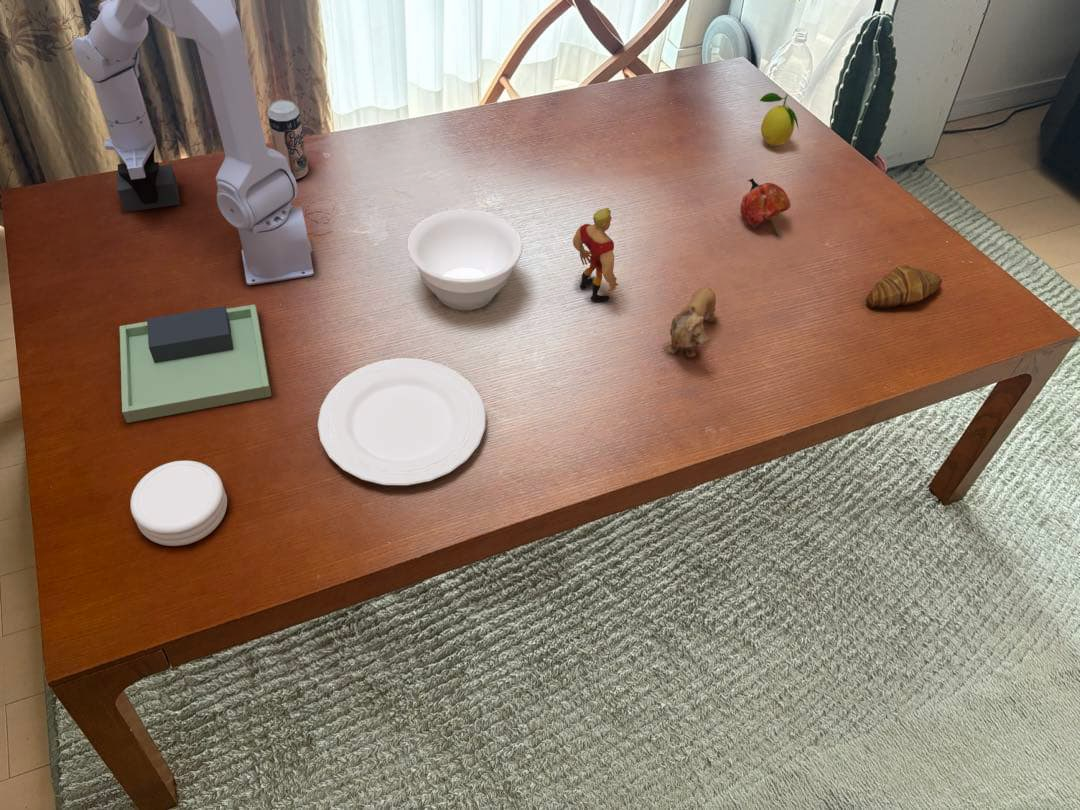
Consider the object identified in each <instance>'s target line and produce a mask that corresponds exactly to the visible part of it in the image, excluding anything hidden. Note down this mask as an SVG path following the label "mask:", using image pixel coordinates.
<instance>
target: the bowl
mask: <svg viewBox="0 0 1080 810" xmlns="http://www.w3.org/2000/svg"><path fill="white" fill-rule="evenodd" d="M520 235H521V234H520V233H519V232H518V230H517V229H516V227H514V226H513V224H512V223H510V222H509V221H507V220H506V219H505V218H503V217H502V216H499V215H497V214H495V213H493V212H489V211H485V210H481V209H476V208H475V209H474V208H454V209H448V210H442V211H439V212H436V213H434V214H431V215H429V216H427V217H425V218H424V219H422V220H420V221H419V222H418V223H417V224H416V225H415V226H414V227H413V228H412V230H411V232H410V234H409V235H408V239H407V243H406V244H407V245H406V246H407V247H406V249H407V254H408V257H409V258H410V260H411V262H412V263H413V264H414V265H415V266H416V268H417V270H418V272H419V275H420V277H421V280H422V282H424V284H425V285H426V287H427V288H428V289H429V290H430V291H431V292H432V293H433V294H434V295H436V297H437V299H438V300H439V302H440V303H442V304H443V305H445V306H446V307H448V308H451V309H453V310H458V311H473V310H478V309H481V308H483V307H485V306H486V305H488V304H489V303H490V302H491V301H492V300H493V299H494V297H495V296H496V295H497V293H499V292H500V291H501V290H502V288H503V287H504V286H505V285H506V283H508V280H509V278H510V277H511V274H512V271H513V268H514V267H515V266H516V264H517V263H518V262H519V261H520V259H521V256H522V254H523V241H522V237H521V236H520Z"/></svg>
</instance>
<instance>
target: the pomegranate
mask: <svg viewBox="0 0 1080 810" xmlns="http://www.w3.org/2000/svg"><path fill="white" fill-rule="evenodd" d="M746 181H747V182H750V184H751V187H750V189H749V190H748V191H749V192H747V193H745V194H744V195H743V196H742V199H741V202H740V216H741V217H742V219H743V220H744V222H746V223H747V224H748V225H750V226H752V227H753V228H754V227H757V226H758V225H760V224H761V223H763V222H764V221H767V220H769V222H770V224H771V226H772V227H773V229H774V231H775V234H776V235H777V237H779V236H780V235H779V233H778V230H777V228H776V225H775V224H774V220H773V218H774V217H776V216H777V215H778V214H779V213H783V212H786V211H788V210H789V209H790V208H791V200H790V198H789V196H788V194H787V192H786V191H785V189H784V188H782V187H780V186H779V185H777V184H776V183H773V182H764V183H761V184H758V183H757V182H756V181H755V180H754V178H750V179H747V180H746Z"/></svg>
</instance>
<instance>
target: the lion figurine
mask: <svg viewBox="0 0 1080 810" xmlns="http://www.w3.org/2000/svg"><path fill="white" fill-rule="evenodd" d="M716 299H717V298H716V293H715V292H714V291H713V289H712V288H711V287H701V288H698V289H697V290H696V291H695V292H694V293H693V294H692V296H691V298H690V301H688V303H687V304H686V305H685V306H684V307H683V309H682V310H681V311H680V312H679V313H677V314H676V315H675V317H674V318H673V319H672V322H671V324H670V330H669V334H670V335H669V336H670V338H671V339H670V341H671V342H670V346H668V347H667V353H668V354H671V355H674V354H676V352H677V351H678V346H681V347H682V348H685V350H686V353H685V354H686V356H687V357H688V358H694V357H695V356H696V351H695V347H696V346H698V347H701V346H702V345H703V344H705V343H706V342H708V341H709V339H710V337H709V336H708V335H707V333H706V332H705V327H704V318H705V320H706V321H707V322H714V319H715V312H716V304H717V301H716ZM706 313H707V314H706ZM705 314H706V315H705Z"/></svg>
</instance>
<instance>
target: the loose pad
mask: <svg viewBox="0 0 1080 810" xmlns="http://www.w3.org/2000/svg"><path fill="white" fill-rule="evenodd" d="M116 177H117V178H116V180H117V182H116V183H117V193H118V196H119V198H120V201H121V204H122V207H123V210H124V213H127V212H136V211H144V210H151V209H158V208H163V207H164V208H166V207H171V206H179V205H181V204H180V193H179V185H178V182H177V178H176V175H175V172H174V168H173V164H166V165H165V164H164V165H159V171H158V175H157V178H156V187H157V198H158V199H157V203H151V204H143V203H142V202H141V200H140V199H139V197H138V196H137V194H136V192H135V191H134V189H133V188H132V187H131V185H130V184H129V183H128V182H127V181H125V180H124V179H123V178H121V176H120V175H119V173H118V170H117V172H116Z"/></svg>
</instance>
